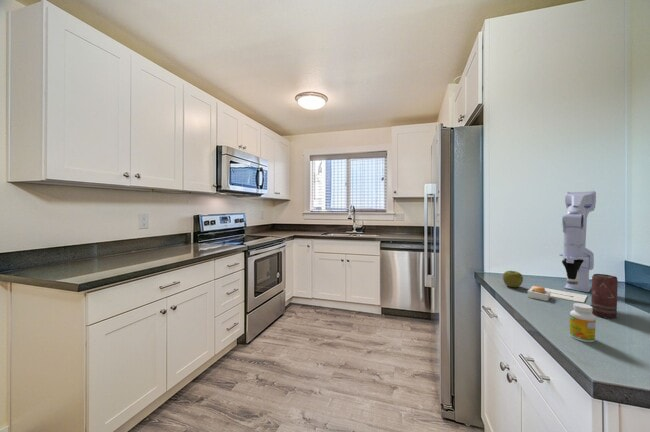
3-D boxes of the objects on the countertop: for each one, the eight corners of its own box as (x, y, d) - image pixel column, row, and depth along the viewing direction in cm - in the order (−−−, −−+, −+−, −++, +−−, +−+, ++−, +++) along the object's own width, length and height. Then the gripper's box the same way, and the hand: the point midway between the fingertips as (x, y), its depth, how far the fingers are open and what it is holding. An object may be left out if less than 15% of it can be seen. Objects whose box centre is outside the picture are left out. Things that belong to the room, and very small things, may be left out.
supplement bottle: (564, 334, 80) (565, 302, 79) (580, 332, 80) (581, 301, 80) (583, 343, 74) (584, 309, 74) (600, 342, 75) (601, 308, 74)
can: (622, 319, 88) (624, 278, 88) (600, 318, 89) (601, 277, 89) (607, 312, 94) (608, 273, 93) (586, 311, 95) (587, 273, 95)
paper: (533, 286, 124) (533, 285, 124) (587, 296, 110) (587, 295, 110) (526, 291, 117) (526, 291, 117) (583, 303, 103) (583, 302, 103)
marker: (567, 281, 108) (567, 262, 108) (578, 283, 106) (579, 263, 105) (565, 283, 106) (566, 263, 106) (577, 285, 103) (578, 265, 103)
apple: (507, 289, 121) (507, 273, 121) (499, 283, 129) (499, 269, 128) (526, 289, 119) (526, 274, 119) (517, 284, 127) (517, 269, 127)
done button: (534, 291, 113) (534, 285, 112) (545, 293, 110) (545, 287, 110) (532, 293, 110) (532, 287, 110) (543, 295, 108) (543, 289, 107)
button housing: (531, 293, 115) (531, 287, 115) (550, 297, 110) (550, 291, 110) (527, 297, 111) (527, 291, 110) (547, 301, 106) (547, 294, 106)
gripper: (563, 241, 113) (562, 272, 113) (556, 245, 103) (555, 279, 104) (586, 242, 107) (585, 275, 108) (581, 247, 98) (580, 283, 99)
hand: (572, 277), depth 106 cm, fingers closed on marker, 3 cm apart
